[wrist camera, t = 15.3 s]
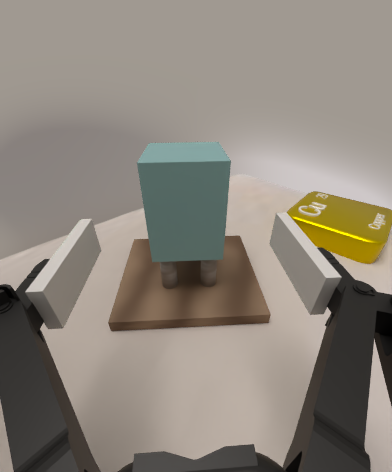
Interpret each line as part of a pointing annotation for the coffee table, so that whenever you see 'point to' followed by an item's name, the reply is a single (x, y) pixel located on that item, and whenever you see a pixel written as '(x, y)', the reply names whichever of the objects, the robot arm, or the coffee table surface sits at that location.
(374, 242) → the element tile
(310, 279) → the robot arm
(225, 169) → the teal block
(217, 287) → the peg board
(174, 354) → the coffee table surface
